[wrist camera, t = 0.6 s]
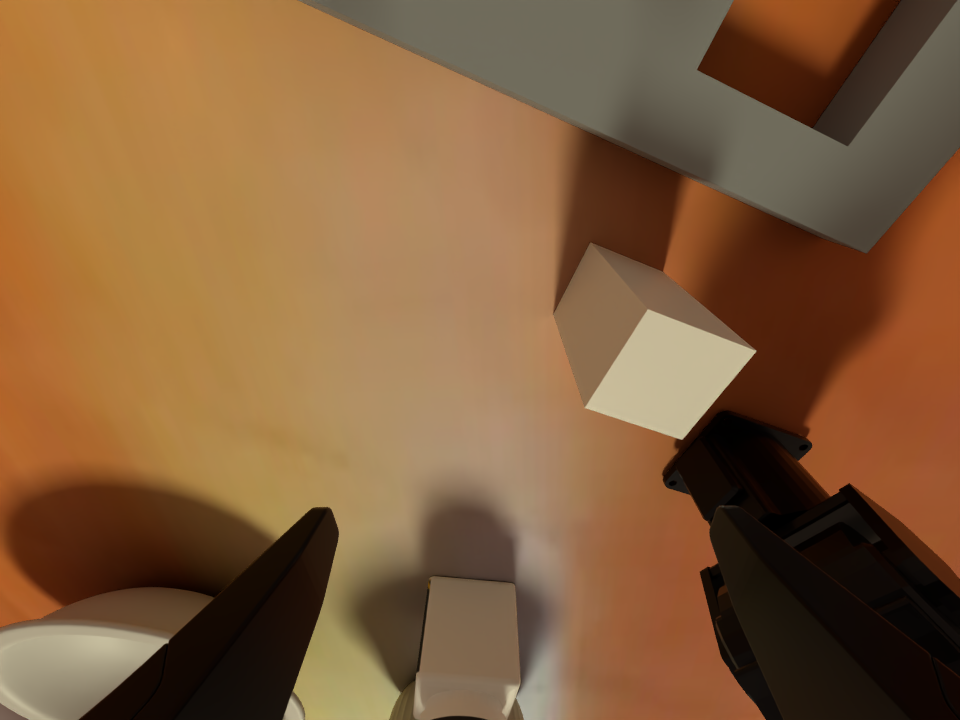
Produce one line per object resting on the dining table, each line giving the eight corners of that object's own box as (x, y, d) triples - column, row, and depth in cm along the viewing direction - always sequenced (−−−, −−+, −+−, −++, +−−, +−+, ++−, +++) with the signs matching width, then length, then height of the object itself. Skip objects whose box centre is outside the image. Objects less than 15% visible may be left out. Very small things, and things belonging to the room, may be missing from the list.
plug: (662, 271, 20) (757, 350, 13) (620, 339, 22) (682, 439, 15) (590, 242, 19) (647, 309, 12) (553, 314, 21) (584, 407, 14)
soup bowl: (56, 640, 40) (-16, 726, 34) (50, 493, 29) (-58, 584, 23) (295, 695, 45) (267, 777, 39) (366, 588, 34) (342, 681, 28)
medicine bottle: (429, 573, 33) (401, 781, 22) (515, 581, 33) (528, 789, 23) (425, 619, 36) (399, 817, 26) (503, 626, 37) (508, 823, 26)
